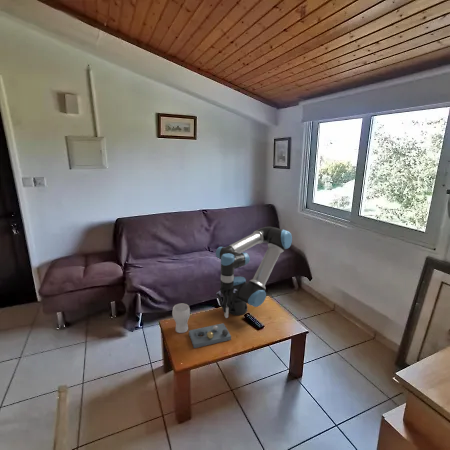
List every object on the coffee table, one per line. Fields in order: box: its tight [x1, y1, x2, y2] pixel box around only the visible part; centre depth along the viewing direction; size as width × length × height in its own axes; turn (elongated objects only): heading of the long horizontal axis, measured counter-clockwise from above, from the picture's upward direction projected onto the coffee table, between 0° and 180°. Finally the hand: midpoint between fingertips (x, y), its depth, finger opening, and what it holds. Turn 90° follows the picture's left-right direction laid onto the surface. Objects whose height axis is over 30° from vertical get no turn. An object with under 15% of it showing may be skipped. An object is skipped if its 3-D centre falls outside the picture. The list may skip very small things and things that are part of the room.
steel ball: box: [212, 324, 218, 331], centre depth 165 cm, size 3×3×3 cm
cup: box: [171, 302, 191, 334], centre depth 168 cm, size 11×11×15 cm
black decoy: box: [222, 329, 229, 336], centre depth 161 cm, size 3×3×3 cm
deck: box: [188, 322, 232, 349], centre depth 163 cm, size 22×13×2 cm, turn 110°
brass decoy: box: [207, 331, 214, 339], centre depth 158 cm, size 4×4×4 cm
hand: (226, 316), depth 165 cm, fingers closed
